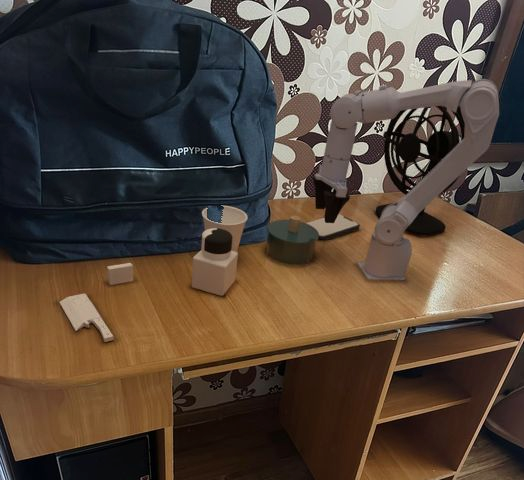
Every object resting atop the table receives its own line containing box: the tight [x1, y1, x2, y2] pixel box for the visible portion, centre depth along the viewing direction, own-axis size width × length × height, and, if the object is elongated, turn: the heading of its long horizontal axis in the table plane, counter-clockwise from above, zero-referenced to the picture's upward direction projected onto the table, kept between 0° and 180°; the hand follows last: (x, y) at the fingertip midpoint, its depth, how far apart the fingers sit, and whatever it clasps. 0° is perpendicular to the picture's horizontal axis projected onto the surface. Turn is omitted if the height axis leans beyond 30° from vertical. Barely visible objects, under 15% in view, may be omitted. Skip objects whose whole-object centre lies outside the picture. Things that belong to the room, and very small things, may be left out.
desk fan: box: [375, 106, 465, 237], centre depth 137 cm, size 27×18×35 cm, turn 34°
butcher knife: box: [58, 293, 115, 343], centre depth 91 cm, size 5×15×1 cm, turn 33°
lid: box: [266, 215, 319, 244], centre depth 117 cm, size 12×12×4 cm
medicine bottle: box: [191, 228, 239, 297], centre depth 103 cm, size 7×7×12 cm
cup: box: [201, 205, 248, 253], centre depth 112 cm, size 10×10×11 cm
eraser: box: [106, 262, 134, 286], centre depth 102 cm, size 1×5×4 cm, turn 121°
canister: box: [265, 233, 317, 265], centre depth 120 cm, size 11×11×6 cm
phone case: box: [305, 213, 360, 242], centre depth 136 cm, size 9×2×16 cm
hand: (324, 215), depth 117 cm, fingers open, 7 cm apart
